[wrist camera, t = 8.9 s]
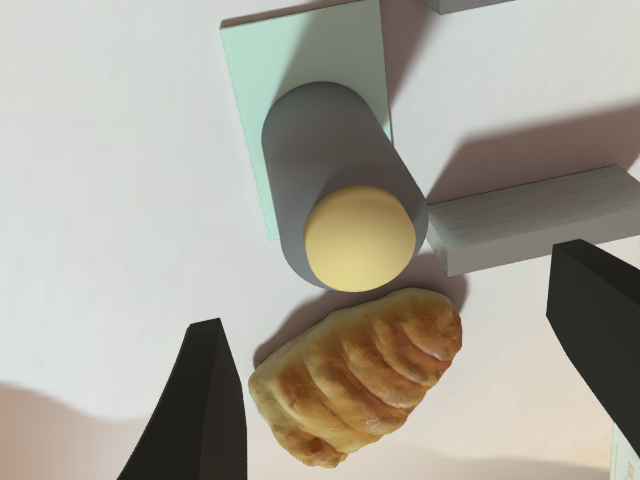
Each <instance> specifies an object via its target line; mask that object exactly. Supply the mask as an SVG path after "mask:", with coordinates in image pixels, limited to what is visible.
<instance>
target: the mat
mask: <svg viewBox="0 0 640 480" xmlns="http://www.w3.org/2000/svg"><path fill="white" fill-rule="evenodd" d="M219 30H220V34H221V39H222V43H223V47H224V51H225V56H226V60H227V64H228V68H229V72H230V77H231V81H232V85H233V89H234V93H235V98H236V102H237V106H238V110H239V115H240V119H241V123H242V127H243V131H244V136H245V140H246V144H247V148H248V152H249V157H250V161H251V165H252V169H253V174H254V178H255V182H256V186H257V190H258V195H259V199H260V203H261V207H262V211H263V216H264V220H265V224H266V228H267V233H268V237H269V241H270V242H273V241H278V240H280V236H279V231H278V226H277V221H276V216H275V211H274V206H273V201H272V196H271V191H270V186H269V180H268V175H267V170H266V165H265V160H264V155H263V150H262V144H261V134H262V128H263V124H264V121H265V118H266V116H267V114H268V112H269V110H270V109H271V108H272V106H273V105H274V104H275V102H276V101H277V100H278V99H279V98H280V97H282V96H283V95H284V94H285V93H287V92H288V91H290V90H291V89H293V88H295V87H298V86H300V85H303V84H306V83H310V82H317V81H327V82H334V83H339V84H342V85H344V86H347V87H349V88H350V89H352V90H354V91H355V92H356V93H358V94H359V95H360V96H361V97H362V98H363V99H364V100H365V102H366V103H367V104H368V106H369V107H370V109H371V111H372V112H373V114H374V115H375V117H376V119H377V120H378V122H379V124H380V125H381V127H382V128H383V130H384V132H385V133H386V135H387V137H388V138H389V140H390V141H391V132H390V120H389V108H388V96H387V85H386V73H385V61H384V49H383V37H382V26H381V14H380V2H379V0H362V1H357V2H352V3H347V4H342V5H337V6H332V7H327V8H321V9H316V10H311V11H306V12H301V13H296V14H291V15H286V16H280V17H275V18H270V19H265V20H260V21H255V22H250V23H245V24H240V25H234V26H229V27H224V28H219Z"/></svg>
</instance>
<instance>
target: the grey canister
mask: <svg viewBox="0 0 640 480" xmlns="http://www.w3.org/2000/svg"><path fill="white" fill-rule="evenodd" d="M261 144H262V150H263V155H264V160H265V165H266V170H267V175H268V180H269V186H270V191H271V196H272V201H273V206H274V211H275V216H276V221H277V226H278V231H279V236H280V242H281V246H282V251H283V254H284V256H285V259H286V260H287V262H288V264H289V265H290V267H291V268H292V269H293V270H294V271H295V272H296V273H297V274H298V275H299V276H300V277H301V278H303V279H304V280H306V281H307V282H309V283H311V284H313V285H315V286H318V287H321V288H324V289H329V290H335V291H347V292H360V291H367V290H371V289H374V288H377V287H380V286H382V285H384V284H386V283H388V282H389V281H391V280H392V279H394V278H395V277H396V276H397V275H399V274H400V273H401V272H402V271H403V269H404V268H405V267H406V266H407V265H408V264H409V263H410V262H411V261H412V260H413V259H414V257H415V256H416V255H417V253H418V252H419V250H420V248H421V246H422V245H423V242H424V240H425V237H426V234H427V230H428V223H429V212H428V207H427V203H426V200H425V198H424V196H423V194H422V192H421V190H420V188H419V187H418V185H417V184H416V182H415V180H414V179H413V177H412V176H411V174H410V172H409V171H408V169H407V167H406V166H405V164H404V163H403V161H402V159H401V158H400V156H399V154H398V153H397V151H396V150H395V148H394V146H393V145H392V143H391V141H390V140H389V138H388V137H387V135H386V133H385V132H384V130H383V128H382V127H381V125H380V124H379V122H378V120H377V119H376V117H375V115H374V114H373V112H372V111H371V109H370V107H369V106H368V104H367V103H366V102H365V100H364V99H363V98H362V97H361V96H360V95H359V94H358V93H356V92H355V91H354V90H352V89H350V88H349V87H347V86H344V85H342V84H339V83H334V82H327V81H317V82H310V83H306V84H303V85H300V86H298V87H295V88H293V89H291V90H290V91H288V92H287V93H285V94H284V95H283V96H282V97H280V98H279V99H278V100H277V101H276V102H275V104H274V105H273V106H272V108H271V109H270V110H269V112H268V114H267V116H266V118H265V121H264V124H263V128H262V134H261Z"/></svg>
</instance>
